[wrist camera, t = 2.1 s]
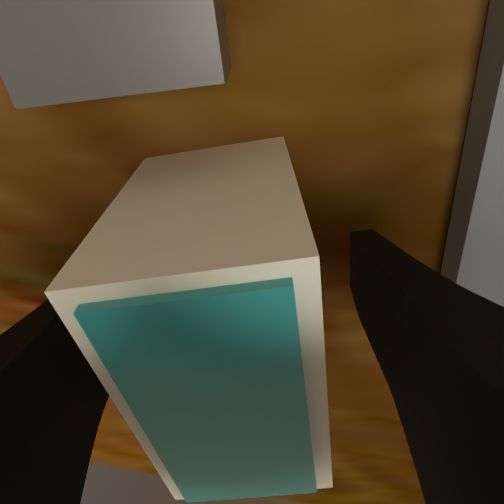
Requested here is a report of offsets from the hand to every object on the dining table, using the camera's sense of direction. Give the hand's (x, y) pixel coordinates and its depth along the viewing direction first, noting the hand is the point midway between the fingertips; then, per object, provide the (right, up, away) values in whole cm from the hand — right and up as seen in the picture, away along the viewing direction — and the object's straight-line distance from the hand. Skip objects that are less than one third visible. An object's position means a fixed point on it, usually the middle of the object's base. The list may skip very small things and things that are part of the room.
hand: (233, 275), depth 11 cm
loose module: (0, +1, +1) cm, 2 cm away
